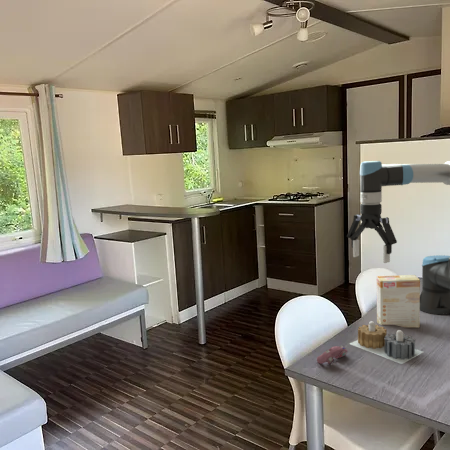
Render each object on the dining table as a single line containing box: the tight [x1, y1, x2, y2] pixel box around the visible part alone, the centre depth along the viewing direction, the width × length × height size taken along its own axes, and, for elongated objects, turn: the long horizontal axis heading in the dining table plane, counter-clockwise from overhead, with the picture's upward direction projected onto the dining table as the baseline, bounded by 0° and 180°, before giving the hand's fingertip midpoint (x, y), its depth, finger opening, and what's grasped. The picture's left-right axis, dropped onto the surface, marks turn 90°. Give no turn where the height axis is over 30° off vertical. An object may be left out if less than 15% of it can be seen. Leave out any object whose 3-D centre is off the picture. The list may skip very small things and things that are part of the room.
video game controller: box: [316, 345, 349, 365], centre depth 153 cm, size 10×5×7 cm, turn 119°
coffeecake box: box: [376, 274, 421, 329], centre depth 180 cm, size 15×7×20 cm, turn 84°
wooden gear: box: [357, 323, 388, 349], centre depth 163 cm, size 10×10×5 cm
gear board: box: [349, 320, 424, 365], centre depth 158 cm, size 13×21×10 cm, turn 36°
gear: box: [384, 332, 416, 360], centre depth 154 cm, size 10×10×5 cm
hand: (370, 259), depth 172 cm, fingers open, 13 cm apart
